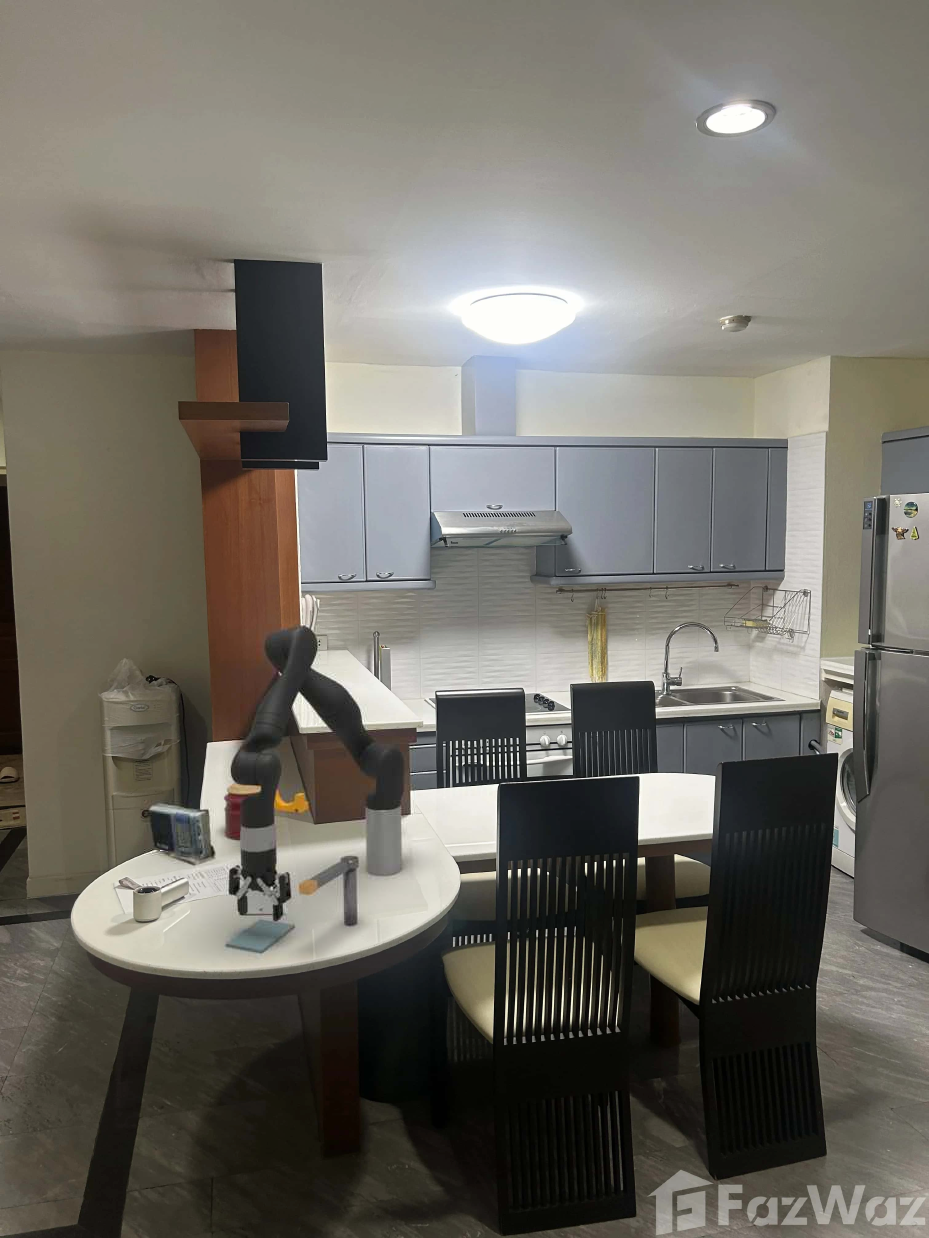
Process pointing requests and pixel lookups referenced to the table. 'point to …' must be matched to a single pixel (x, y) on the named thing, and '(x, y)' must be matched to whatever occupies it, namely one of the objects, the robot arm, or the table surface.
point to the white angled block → (260, 903)
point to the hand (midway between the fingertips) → (260, 916)
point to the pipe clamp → (296, 806)
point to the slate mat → (260, 936)
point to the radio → (182, 833)
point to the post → (350, 897)
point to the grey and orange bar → (328, 875)
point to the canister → (236, 807)
